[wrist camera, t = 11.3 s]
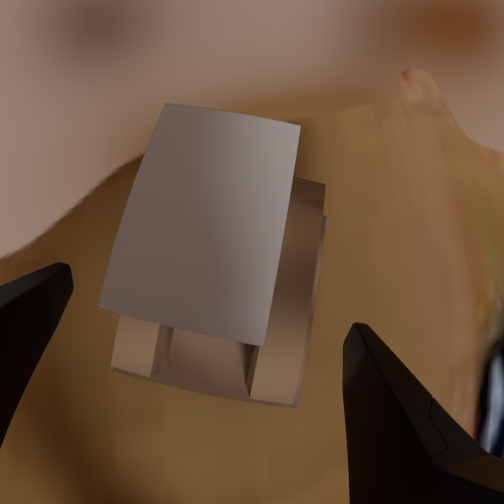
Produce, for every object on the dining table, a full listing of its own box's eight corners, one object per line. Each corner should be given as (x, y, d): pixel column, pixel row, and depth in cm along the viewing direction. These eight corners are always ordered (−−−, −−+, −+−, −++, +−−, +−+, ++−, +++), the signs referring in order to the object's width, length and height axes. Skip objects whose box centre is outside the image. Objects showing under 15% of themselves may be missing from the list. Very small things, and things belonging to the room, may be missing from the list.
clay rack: (291, 402, 18) (313, 426, 13) (121, 368, 18) (85, 378, 13) (319, 223, 21) (346, 189, 16) (162, 193, 21) (144, 151, 16)
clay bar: (239, 336, 18) (263, 346, 5) (188, 325, 18) (97, 307, 5) (254, 261, 19) (300, 125, 6) (204, 250, 19) (165, 103, 6)
